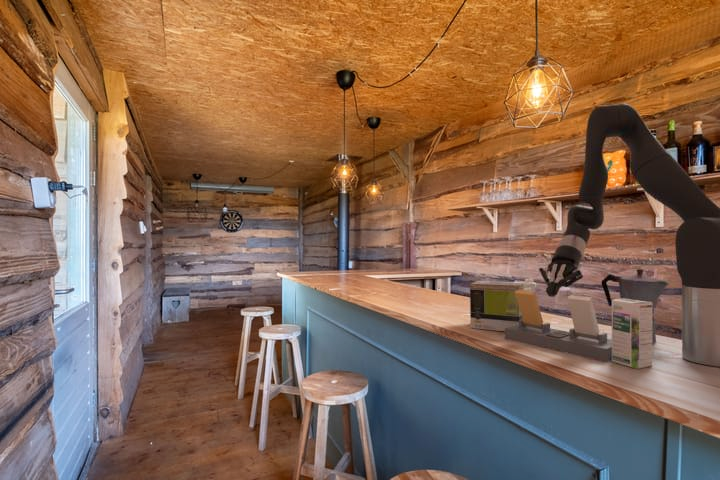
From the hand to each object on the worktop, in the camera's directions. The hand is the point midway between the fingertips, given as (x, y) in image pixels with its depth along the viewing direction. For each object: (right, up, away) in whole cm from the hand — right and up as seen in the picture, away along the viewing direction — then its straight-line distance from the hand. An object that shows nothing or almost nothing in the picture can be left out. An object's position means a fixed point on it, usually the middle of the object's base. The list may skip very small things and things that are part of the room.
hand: (550, 294), depth 111 cm
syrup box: (+5, -12, -26) cm, 29 cm away
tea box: (-12, -12, +9) cm, 20 cm away
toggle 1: (-7, -8, -6) cm, 12 cm away
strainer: (-1, -12, +16) cm, 20 cm away
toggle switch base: (-3, -12, -11) cm, 17 cm away
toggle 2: (+1, -8, -17) cm, 19 cm away
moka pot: (+20, -12, -6) cm, 24 cm away
